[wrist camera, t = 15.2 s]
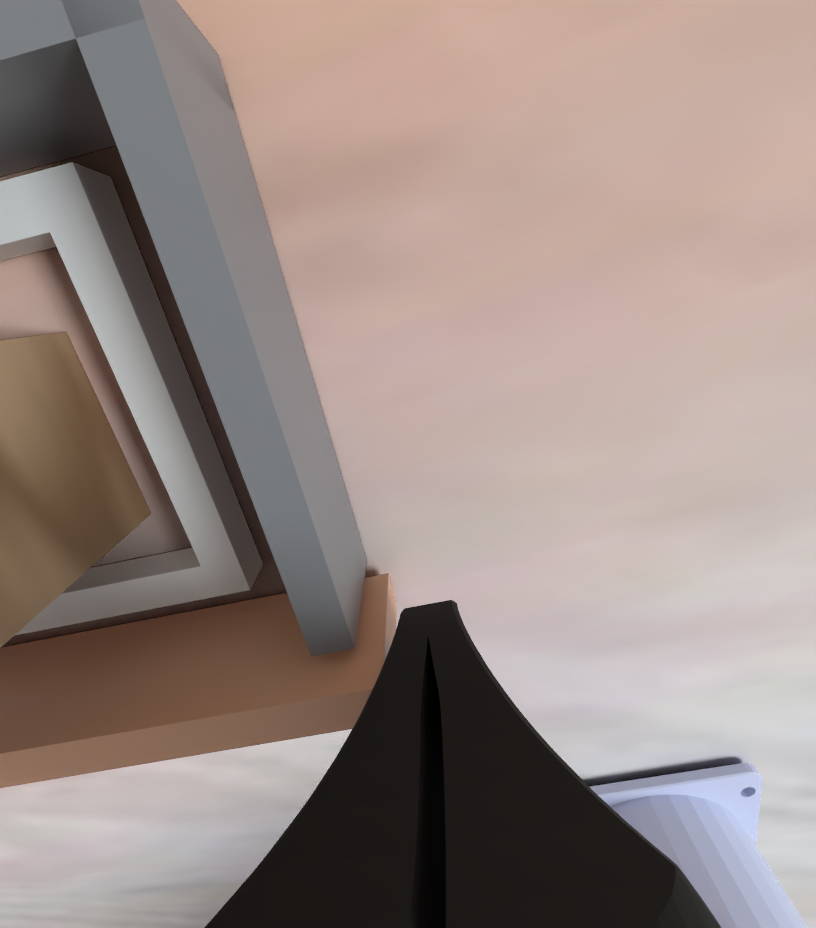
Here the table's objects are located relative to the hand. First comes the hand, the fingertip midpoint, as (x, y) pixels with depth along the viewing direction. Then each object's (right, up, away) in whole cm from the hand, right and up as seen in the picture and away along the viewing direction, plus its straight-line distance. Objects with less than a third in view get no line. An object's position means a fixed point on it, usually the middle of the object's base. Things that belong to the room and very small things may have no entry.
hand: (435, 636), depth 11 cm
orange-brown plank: (-8, -1, +3) cm, 9 cm away
